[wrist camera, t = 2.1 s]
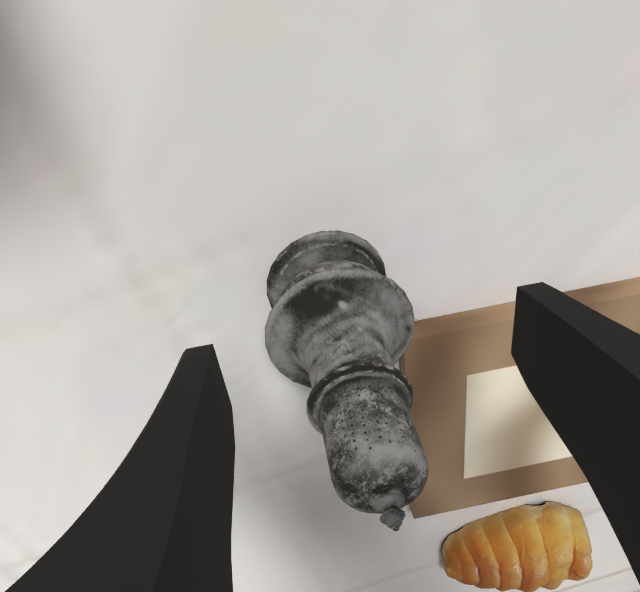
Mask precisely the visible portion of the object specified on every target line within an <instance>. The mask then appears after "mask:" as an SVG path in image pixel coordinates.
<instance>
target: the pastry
mask: <svg viewBox="0 0 640 592" xmlns="http://www.w3.org/2000/svg"><path fill="white" fill-rule="evenodd" d="M545 502H546V503H545V504H544V505H541V506H532V505H530V504H528V505H523V506H519V507H514V508H511V509H510V510H508V511H503V512H498V513H496V514H493V515H490V516H487V517H484V518H481V519H479V520H476V521H473V522H471V523H468V524H466V525H464V526H463V528H461V529H460V530H459V531H457V532H455V533H452V534H450V535H449V536H448V538H447V539H446V541H445V542H444V544H443V550H442V556H443V560H444V566H445V571H446V574H447V576H449V577H451V578H453V579H456V580H457V581H459V582H461V583H464V584H468V585H475V586H476V587H478V588H496V589H498V590H499V591H506V590H510V589H518V590H522V591H524V592H533V591H535V590H536V589H538V588H539V587H543V588H546V589H550V590H551V589H556V588H557V587H559V586H560V584H561V583H562V581H563V580H565V579H570V580H576V581H579V580H582V579H585V578H587V577H588V576H589V573H590V571H591V569H592V558H591V552H592V549H591V543H590V539H589V535H588V531H587V528H586V525H585V522H584V520H583V517H582V514H581V512H580V511H579V510H577V509H575V508H572V507H569V506H565V505H563V504H560V503H557V502H547V501H545Z"/></svg>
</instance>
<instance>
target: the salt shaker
mask: <svg viewBox="0 0 640 592" xmlns="http://www.w3.org/2000/svg"><path fill="white" fill-rule="evenodd" d="M267 296H268V299H269V301H270V304H271V307H272V310H271V311H270V314H269V317H268V320H267V324H266V327H265V346H266V348H267V351H268V354H269V357H270V359H271V361H272V362H273V364H274V365H275V366H276V367H277V369H278V370H279V371H280V372H281V373H282V374H284V375H285V376H287V377H288V378H290V379H291V380H292V381H294V382H297V383H299V384H302V385H305V386H308V387H311V388H312V391H311V392H310V395H309V398H308V400H307V415H308V418H309V421H310V423H311V424H312V426H313V427H314V428H315V429H316V430H317V431H318V432H320V433H321V434H323V438H324V443H325V448H326V453H327V458H328V463H329V469H330V474H331V479H332V482H333V485H334V488H335V490H336V492H337V494H338V496H339V497H340V498H341V499H342V500H343V502H345V503H346V504H348V505H349V506H350V507H352V508H354V509H356V510H358V511H361V512H365V513H382V515H381V517H380V520H381V522H382V523H384V524H386V525H387V526H388V527H389V528H391V529H393V530H394V531H398V530H399V527H400V526H401V524H402V520H403V519H404V517H405V513H404V511H403V510H401V508H403V507H404V506H406V505H408V504H409V503H411V502H412V501H414V500H415V499H416V498H417V497H418V496H419V495H420V493H421V492H422V490H423V488H424V486H425V484H426V481H427V478H428V473H429V472H428V463H427V458H426V455H425V452H424V449H423V447H422V444H421V441H420V439H419V436H418V433H417V431H416V428H415V425H414V423H413V420H412V417H411V415H410V410H411V408H412V405H413V400H414V393H413V388H412V385H411V383H410V381H409V380H408V378H407V377H406V375H404V374H403V373H402V372H401V371H399V370H398V369H396V368H395V366H394V364H395V363H396V362H397V360H398V359H399V358H400V357H401V356H402V355H403V353H404V352H405V350H406V348H407V346H408V344H409V342H410V340H411V338H412V334H413V328H414V323H415V321H414V314H413V308H412V305H411V303H410V301H409V299H408V297H407V296H406V294H405V292H404V291H403V290H402V289H401V288H400V287H399V286H398V285H397V284H396V283H395V282H394V281H393V280H392V279H390V278H388V277H386V273H385V267H384V263H383V261H382V259H381V257H380V256H379V254H378V252H377V250H376V249H375V248H373V247H372V246H371V245H370V244H369V243H368V242H367V241H366V240H364V239H362V238H360V237H358V236H356V235H354V234H351V233H346V232H341V231H321V232H317V233H313V234H309V235H306V236H304V237H302V238H300V239H298V240H296V241H294V242H293V243H291V244H290V245H289V246H288V247H286V248H285V249H284V250H283V251H282V252H281V253H280V254H279V255H278V257H277V258H276V260H275V261H274V263H273V264H272V266H271V268H270V272H269V275H268V278H267Z"/></svg>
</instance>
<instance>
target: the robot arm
mask: <svg viewBox="0 0 640 592" xmlns="http://www.w3.org/2000/svg"><path fill="white" fill-rule="evenodd" d="M511 354H512V357H513V359H514V361H515V363H516V365H517V367H518V370H519V372H520V374H521V376H522V378H523V380H524V382H525V384H526V386H527V388H528V390H529V391H530V393H531V394H532V396H533V397H534V399H535V401H536V402H537V404H538V405H539V407H540V408H541V410H542V411H543V413H544V414H545V416H546V417H547V419H548V420H549V422H550V423H551V425H552V426H553V428H554V429H555V431H556V432H557V434H558V435H559V437H560V438H561V440H562V441H563V443H564V444H565V446H566V447H567V449H568V450H569V452H570V453H571V455H572V456H573V458H574V459H575V461H576V462H577V464H578V465H579V467H580V469H581V470H582V472H583V474H584V475H585V477H586V478H587V480H588V482H589V484H590V485H591V487H592V489H593V491H594V493H595V495H596V497H597V499H598V501H599V503H600V505H601V506H602V508H603V510H604V512H605V514H606V516H607V518H608V520H609V522H610V524H611V526H612V528H613V530H614V532H615V534H616V536H617V538H618V540H619V542H620V544H621V546H622V548H623V550H624V552H625V554H626V556H627V558H628V560H629V563H630V565H631V567H632V569H633V571H634V573H635V576H636V578H637V580H638V582H639V584H640V334H639V333H637V332H635V331H633V330H631V329H629V328H627V327H625V326H623V325H621V324H619V323H617V322H615V321H613V320H612V319H610V318H608V317H606V316H604V315H602V314H600V313H599V312H597V311H595V310H593V309H591V308H590V307H588V306H586V305H584V304H582V303H581V302H579V301H577V300H575V299H573V298H572V297H570V296H568V295H566V294H564V293H563V292H561V291H559V290H557V289H555V288H553V287H551V286H549V285H547V284H545V283H543V282H540V283H535V284H530V285H524V286H519V287H517V294H516V304H515V314H514V325H513V335H512V345H511ZM234 461H235V439H234V425H233V413H232V405H231V402H230V399H229V395H228V392H227V389H226V386H225V382H224V379H223V376H222V373H221V369H220V366H219V363H218V360H217V356H216V353H215V350H214V347H213V344H210V345H205V346H199V347H194V348H189V349H186V350H185V351H184V353H183V354H182V356H181V359H180V361H179V363H178V365H177V367H176V369H175V371H174V374H173V376H172V378H171V380H170V382H169V384H168V386H167V388H166V390H165V392H164V393H163V395H162V397H161V399H160V401H159V403H158V404H157V406H156V408H155V410H154V412H153V414H152V415H151V417H150V419H149V421H148V422H147V424H146V426H145V427H144V429H143V431H142V432H141V434H140V435H139V437H138V439H137V440H136V442H135V443H134V445H133V447H132V448H131V450H130V451H129V453H128V454H127V456H126V457H125V459H124V460H123V462H122V463H121V464H120V466H119V467H118V469H117V470H116V471H115V473H114V474H113V476H112V477H111V478H110V480H109V481H108V482H107V484H106V485H105V486H104V488H103V489H102V490H101V491H100V493H99V494H98V495H97V496H96V498H95V499H94V500H93V501H92V502H91V504H90V505H89V506H88V507H87V508H86V510H85V511H84V512H83V513H82V514H81V515H80V517H79V518H78V519H77V520H76V521H75V522H74V524H73V525H72V526H71V527H70V528H69V529H68V530H67V531H66V533H65V534H64V535H63V536H62V537H61V538H60V539H59V540H58V541H57V542H56V543H55V544H54V545H53V546H52V547H51V548H50V549H49V550H48V551H47V552H46V553H45V554H44V555H43V556H42V557H41V558H40V559H39V560H38V561H37V562H36V563H35V564H34V565H33V566H32V567H31V568H30V569H29V570H28V571H27V572H26V573H25V574H24V575H23V576H22V577H21V578H20V579H18V580H17V581H16V582H15V583H14V584H13V585H12V586H11V587H10V588H8V589H7V590H6V591H5V592H233V583H232V565H231V527H232V505H233V484H234Z"/></svg>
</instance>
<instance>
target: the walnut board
mask: <svg viewBox="0 0 640 592" xmlns="http://www.w3.org/2000/svg"><path fill="white" fill-rule="evenodd" d="M563 293H564V294H566V295H568V296H570V297H572V298H573V299H575V300H577V301H579V302H581V303H582V304H584V305H586V306H588V307H590V308H591V309H593V310H595V311H597V312H599V313H600V314H602V315H604V316H606V317H608V318H610V319H612V320H613V321H615V322H617V323H619V324H621V325H623V326H625V327H627V328H629V329H631V330H633V331H635V332H637V333H639V334H640V277H639V278H633V279H628V280H623V281H618V282H613V283H608V284H603V285H598V286H593V287H588V288H582V289H577V290H572V291H567V292H563ZM515 304H516V302H511V303H506V304H501V305H496V306H490V307H485V308H480V309H475V310H470V311H465V312H460V313H455V314H450V315H444V316H439V317H434V318H429V319H424V320H419V321H415V323H414V328H413V334H412V338H411V340H410V342H409V344H408V346H407V348H406V350H405V352H404V353H403V355H402V356H401V357H400V358H399V365H400V371H401V372H402V373H403V374H404V375H406V377H407V378H408V380H409V381H410V383H411V385H412V388H413V393H414V400H413V405H412V408H411V410H410V415H411V417H412V420H413V423H414V425H415V428H416V431H417V433H418V436H419V439H420V441H421V444H422V447H423V449H424V452H425V455H426V458H427V463H428V472H429V473H428V478H427V481H426V484H425V486H424V488H423V490H422V492H421V493H420V495H419V496H418V497H417V498H416V499H415V500H414V501H412V502H411V503H409V505H410V508H411V511H412V514H413V517H414V519H415V518H420V517H424V516H429V515H434V514H439V513H443V512H448V511H453V510H457V509H462V508H467V507H472V506H476V505H481V504H486V503H491V502H495V501H500V500H505V499H509V498H514V497H519V496H524V495H528V494H533V493H538V492H543V491H547V490H552V489H557V488H561V487H566V486H571V485H576V484H580V483H585V482H588V480H587V478H586V477H585V475H584V474H583V472H582V470H581V469H580V467H579V465H578V464H577V462H576V461H575V459H574V458H573V456H572V455H571V453H570V452H569V450H568V449H567V447H566V446H565V444H564V443H563V441H562V440H561V438H560V437H559V435H558V434H557V432H556V431H555V429H554V428H553V426H552V425H551V423H550V422H549V420H548V419H547V417H546V416H545V414H544V413H543V411H542V410H541V408H540V407H539V405H538V404H537V402H536V401H535V399H534V397H533V396H532V394H531V393H530V391H529V390H528V388H527V386H526V384H525V382H524V380H523V378H522V376H521V374H520V372H519V370H518V367H517V365H516V363H515V361H514V359H513V357H512V354H511V345H512V335H513V325H514V314H515Z"/></svg>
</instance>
